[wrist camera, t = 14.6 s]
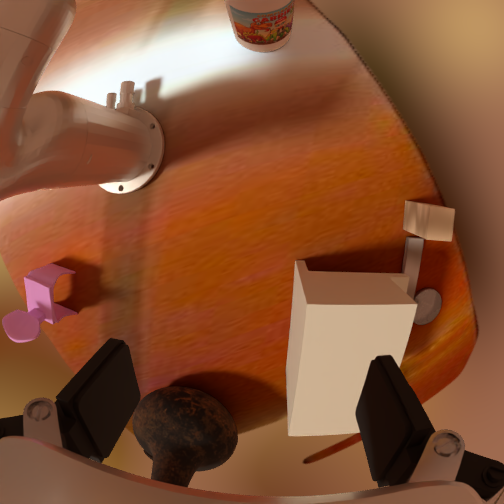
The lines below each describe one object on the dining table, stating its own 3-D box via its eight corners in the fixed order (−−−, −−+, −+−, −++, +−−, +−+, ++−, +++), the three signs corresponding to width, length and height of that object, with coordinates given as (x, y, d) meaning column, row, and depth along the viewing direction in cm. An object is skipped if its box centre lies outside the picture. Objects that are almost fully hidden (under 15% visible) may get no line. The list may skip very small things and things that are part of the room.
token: (410, 288, 38) (413, 291, 36) (440, 285, 37) (444, 288, 36) (404, 323, 39) (407, 327, 38) (434, 319, 39) (437, 322, 37)
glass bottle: (130, 392, 46) (65, 500, 19) (191, 355, 43) (125, 505, 15) (194, 444, 49) (162, 552, 22) (261, 417, 45) (249, 554, 18)
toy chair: (80, 270, 41) (19, 304, 26) (82, 315, 43) (30, 358, 28) (47, 259, 41) (-12, 286, 26) (50, 302, 43) (-2, 337, 28)
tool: (405, 200, 34) (430, 205, 28) (428, 203, 34) (454, 209, 27) (384, 331, 39) (400, 356, 33) (406, 330, 39) (424, 353, 32)
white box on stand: (295, 260, 38) (307, 304, 24) (391, 263, 37) (441, 303, 23) (285, 369, 42) (288, 435, 28) (369, 367, 41) (394, 427, 28)
